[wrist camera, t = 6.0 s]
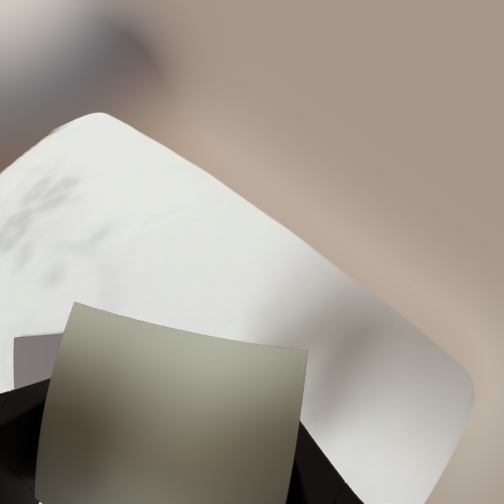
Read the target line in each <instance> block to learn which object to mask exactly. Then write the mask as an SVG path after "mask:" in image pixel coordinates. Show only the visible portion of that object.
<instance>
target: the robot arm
mask: <svg viewBox="0 0 504 504" xmlns="http://www.w3.org/2000/svg"><path fill="white" fill-rule="evenodd" d="M50 380H51V378H49V379H46V380H43V381H40V382H36V383H33V384H30V385H27V386H24V387H21V388H17V389H14V390H11V391H7V392H4V393H1V394H0V504H39V502H40V501H38V500H37V499H35V478H36V464H37V453H38V445H39V437H40V430H41V424H42V418H43V412H44V407H45V402H46V397H47V393H48V388H49V384H50ZM286 504H364V503H363V502H362V501H361V500H360V499H359V498H358V496H357V495H356V494H355V493H354V492H353V491H352V489H351V488H350V487H349V486H348V484H347V483H345V481H344V479H343V478H342V477H341V475H340V474H339V473H338V472H337V470H336V469H335V468H334V466H333V465H332V464H331V462H330V461H329V460H328V458H327V457H326V456H325V454H324V453H323V452H322V450H321V449H320V448H319V446H318V445H317V443H316V442H315V441H314V439H313V438H312V437H311V435H310V434H309V432H308V431H307V430H306V428H305V427H304V425H303V424H302V423H301V421H299V428H298V435H297V442H296V448H295V454H294V460H293V466H292V472H291V478H290V483H289V489H288V494H287V499H286Z"/></svg>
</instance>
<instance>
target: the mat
mask: <svg viewBox="0 0 504 504" xmlns="http://www.w3.org/2000/svg"><path fill="white" fill-rule="evenodd" d="M62 337H63V334H55V335H43V336H30V337H16V338H14V389H17V388H21V387H24V386H27V385H30V384H33V383H36V382H40V381H43V380H46V379H49V378H51V376H52V372H53V368H54V364H55V360H56V357H57V353H58V350H59V346H60V343H61V340H62Z"/></svg>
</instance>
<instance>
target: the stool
mask: <svg viewBox="0 0 504 504" xmlns="http://www.w3.org/2000/svg"><path fill="white" fill-rule="evenodd" d="M306 361H307V351H306V350H298V349H289V348H281V347H274V346H267V345H260V344H253V343H247V342H241V341H235V340H229V339H224V338H218V337H213V336H207V335H202V334H197V333H192V332H188V331H183V330H178V329H174V328H169V327H165V326H161V325H156V324H152V323H148V322H144V321H140V320H136V319H132V318H129V317H125V316H121V315H117V314H114V313H110V312H107V311H103V310H100V309H96V308H93V307H90V306H86V305H83V304H80V303H77V302H74V304H73V307H72V310H71V313H70V315H69V318H68V321H67V324H66V327H65V330H64V333H63V337H62V340H61V343H60V346H59V350H58V353H57V357H56V360H55V364H54V368H53V372H52V376H51V380H50V384H49V388H48V393H47V397H46V402H45V407H44V412H43V418H42V424H41V430H40V437H39V445H38V453H37V464H36V478H35V499H37V500H38V501H40V502H41V503H43V504H286V499H287V494H288V489H289V483H290V478H291V472H292V466H293V460H294V454H295V448H296V442H297V435H298V428H299V421H300V414H301V406H302V398H303V389H304V380H305V371H306Z"/></svg>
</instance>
